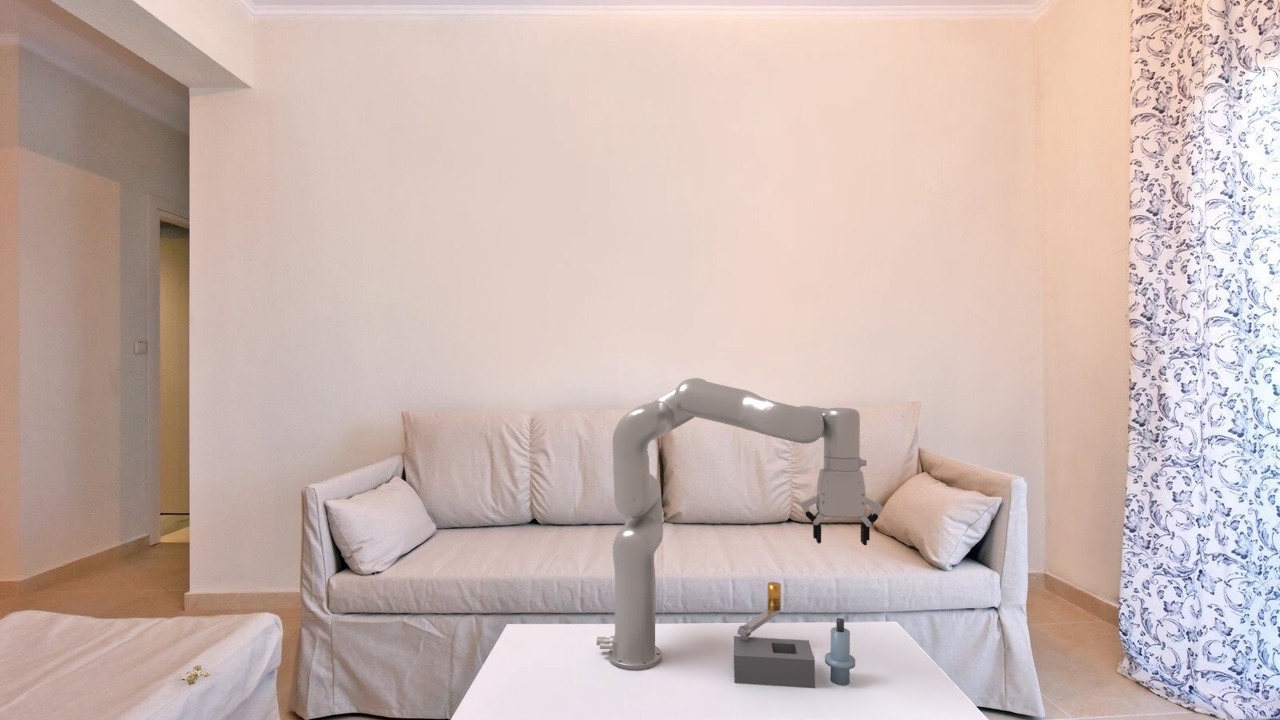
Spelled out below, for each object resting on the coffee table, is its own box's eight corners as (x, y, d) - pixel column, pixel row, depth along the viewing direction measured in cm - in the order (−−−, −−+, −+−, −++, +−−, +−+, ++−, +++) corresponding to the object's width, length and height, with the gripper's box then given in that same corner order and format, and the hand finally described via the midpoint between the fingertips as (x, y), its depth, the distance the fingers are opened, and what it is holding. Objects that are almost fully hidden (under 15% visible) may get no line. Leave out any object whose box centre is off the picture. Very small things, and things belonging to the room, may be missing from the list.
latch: (747, 637, 149) (748, 605, 149) (735, 633, 151) (735, 602, 151) (782, 612, 164) (783, 583, 164) (771, 609, 166) (771, 581, 166)
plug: (827, 687, 142) (827, 624, 142) (822, 673, 148) (823, 613, 148) (858, 689, 141) (858, 626, 141) (852, 674, 147) (852, 614, 147)
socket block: (734, 683, 143) (734, 649, 143) (733, 661, 153) (733, 630, 153) (814, 688, 141) (814, 654, 141) (808, 666, 151) (808, 635, 151)
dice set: (189, 688, 141) (189, 679, 141) (175, 683, 144) (175, 674, 144) (213, 678, 146) (213, 669, 146) (199, 673, 148) (199, 664, 148)
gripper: (878, 462, 147) (878, 539, 147) (799, 460, 149) (798, 536, 149) (886, 468, 139) (886, 549, 140) (803, 466, 142) (802, 546, 142)
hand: (841, 542), depth 144 cm, fingers open, 9 cm apart
